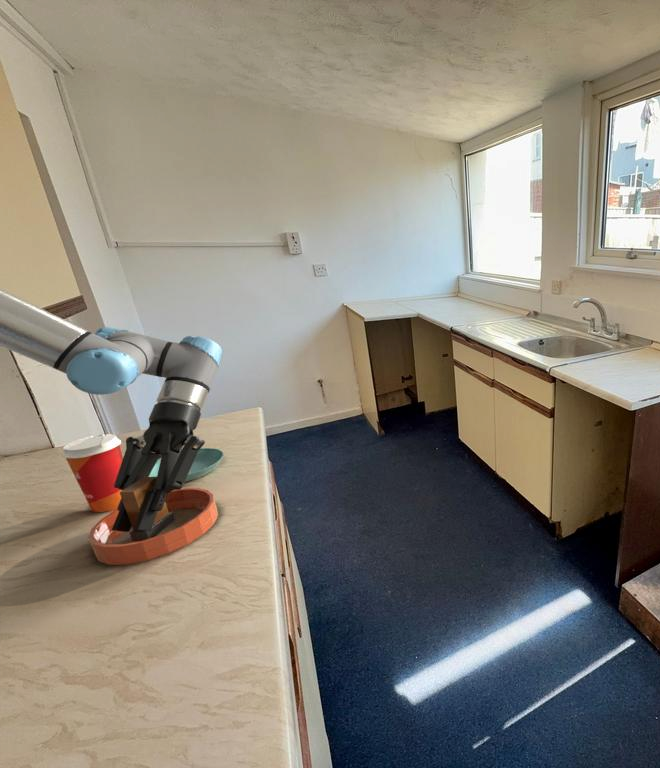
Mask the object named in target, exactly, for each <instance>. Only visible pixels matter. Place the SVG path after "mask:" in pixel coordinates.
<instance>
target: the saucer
mask: <svg viewBox="0 0 660 768" xmlns="http://www.w3.org/2000/svg"><path fill="white" fill-rule="evenodd" d="M223 458H224V452H223V450H221V449H219V448H215V447H201V448H200V450H199V451H198V452H197V455H196V457H195V459H194V462H193V464H192V466H191V468H190V471H189V473H188V475H187V477H186V480H185V482H189V481H193V480H196V479H198V478H201V477H203V476H206V475H207V474H209V473H211V472H212V471H213V470H214V469H216V468H217V466H218V465H219V464H220V463H221V461H222V459H223ZM160 462H161V458H160V459H158V460H157V462H156V464H155V466H154V468H153V469H152V471H151V473H150V475H149V477H157V475H158V470H159V466H160ZM185 482H184V483H185Z"/></svg>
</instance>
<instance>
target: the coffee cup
mask: <svg viewBox="0 0 660 768" xmlns="http://www.w3.org/2000/svg"><path fill="white" fill-rule="evenodd" d="M121 444H122V441H121V439H119V438H118V437H117V436H116V435H115V434H112V433H107V434H96V435H94V436H93V435H90V436H86V437H82V438H81V437H80V438H78V439H76V440H73V441H70V442H69V443H66V444H64V446H63V448H62V451H63V452H62V453H61V457H62V458H64V459H65V460H66V461H67V463H68V466H69V468H70V470H71V472H72V474H73V476H74V478H75V480H76V482H77V484H78V486H79V488H80V490H81V492H82V493H83V496H84V498H85V500H86V502H87V503H88V506H89V507H90V509H91V511H92V512H94V513H105V512H110V511H111V512H113V511H115V510H117V507H118V505H119V503H120V500H121V495H120V492H121V491H122V490H120V489H118V488H115V487H114V484H115V481H116V478H117V475H118V472H119V469H120V466H121V463H122V460H123V457H124V455H123V453H122V449H121Z"/></svg>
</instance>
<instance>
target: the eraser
mask: <svg viewBox="0 0 660 768" xmlns="http://www.w3.org/2000/svg"><path fill="white" fill-rule="evenodd" d="M156 479H157V477H143V478H142V479H140V480H138V481H137V482H135V483H134V484H132V485H130V486H129V487H127V488H125V489H124V490H122V491H121V492H120V495H121V498H122V501H123V503H124V506H125V509H126V512H127V514H128V517H129V520H130V523H131V525H132V526H131V528H132V530H130V531H129V536H130V539H131V541H132V542H138V541H143V540H146V539H150V538H153V537H156V536H158V535H160V533H161V532H162V531H164V530H166V528H167V527H168V526H170V525H171V524H172V523H174V522H175V521H176V518H175V515H174V512H173V511H168V509H167V506H166V502H164V506H163V508H162V510H161V511H158V512H157V515H156V518H155V520H154V523H153V526H152V529H151V531H140V530H134V527H135V525H136V522H137V519H138V517H139V514H140V512H141V509H142V507H143V504H144V501H145V499H146V496H147V494H148V491H154V492H156V491H155V490H152V489H151V487H155V483H156Z"/></svg>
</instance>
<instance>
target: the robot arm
mask: <svg viewBox="0 0 660 768" xmlns="http://www.w3.org/2000/svg"><path fill="white" fill-rule="evenodd" d="M0 347H1V348H4V349H6V350H9V351H11V352H14V353H16V354H19V355H20V356H23V357H26V358H28V359H31V360H32V361H35V362H38V363H39V364H42V365H44V366H47V367H49V368H52V369H55V370H57V371H59V372H61V373H64V374H66V378H67V380H68V381H69V382H70V383H71V384H72V385H73V386H74V387H75V389H77V390H79V391H81V392H83V393H87V394H90V395H96V396H97V395H98V396H101V395H104V396H105V395H110V394H113V393H117V392H119V391H121V390H123V389H125V388H127V387H128V386H130V385H131V384H133V383H134V382H135V381H136V380H137V378H139V376H141V375H142V374H143V375H149V376H154V377H158V378H165V379H164V381H163V384H162V386H161V389H160V391H159V393H158V395H157V398H156V403H155V404H153V408H152V410H151V413H150V415H149V417H148V424H149V426H148V428H147V429H146V430H145V431H144V432H143V434H142V435H138V436H136V437H133V436H128V437H127V438H126V439H125V446H126V447H125V451H124V455H123V460H122V463H121V466H120V469H119V472H118V475H117V478H116V481H115V484H114V487H115V488H118V489H120V490H124V489H125V488H127V487H129V486H130V485H132V484H134V483H135V482H137V481H138V480H140V479H142V478H143V477H149V475H150V473H151V471H152V469H153V468H154V466H155V464H156V462H157V461H158V460H160V459H161V462H160V466H159V470H158V475H157V479H156V483H155V487H151V489H152V490H155V491H156V492H154V491H148V494H147V496H146V499H145V501H144V504H143V507H142V509H141V512H140V514H139V517H138V519H137V522H136V525H135V527H134V530H140V531H151V529H152V526H153V523H154V520H155V518H156V515H157V512H158V511H161V510H162V508H163V506H164V502H165V500H166V498H167V495H168V493H170V492H171V491H173V490H180V489H182V488H183V487H184V484H185V480H186V477H187V475H188V473H189V471H190V468H191V466H192V464H193V462H194V459H195V457H196V455H197V452H198V451H199V450H200V448H203V446H204V445H205V443H206V441H205V439H202V438H200V437H198V436H196V435H195V434H194V431H195V430H196V429H197V427H198V424H199V423H200V418H201V416H202V413H201V411H203V410H204V407H205V404H206V402H207V399H208V396H209V393H210V391H211V388H212V385H213V383H214V380H215V378H216V375H217V372H218V370H219V367H220V362H221V359H222V356H223V350H222V349H223V348H222V347H221V346H220V345H219V344H218V343H217V342H216V341H214V340H212V339H210V338H207V337H204V336H201V335H200V336H199V335H197V336H194V335H188V336H185V337H183V338H182V340H181V341H179V342H175V341H173V342H172V341H168V340H164V339H160V338H156V337H152V336H148V335H145V334H140V333H137V332H132V331H130V330H128V329H119V328H115V327H109V326H102V327H100V328H98V329H97V330H96V331H95V332H94V333H93V332H91V331H89V330H87V329H85V328H83V327H81V326H79V325H77V324H75V323H73V322H70V321H68V320H66V319H64V318H62V317H60V316H58V315H56V314H54V313H51V312H49V311H47V310H46V309H44V308H41V307H39V306H37V305H35V304H33V303H31V302H29V301H27V300H25V299H22V298H20V297H18V296H16V295H15V294H12V293H10V292H8V291H6V290H4V289H2V288H0ZM117 511H119V513H118V515H117V518H116V520H115V523H114V525H113V528H112V530H115V531H122V533H130V532H131V528H132V525H131V523H130V520H129V517H128V514H127V512H126V509H125V506H124V503H123V501H122V498H121V500H120V503H119V505H118V507H117Z"/></svg>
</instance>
